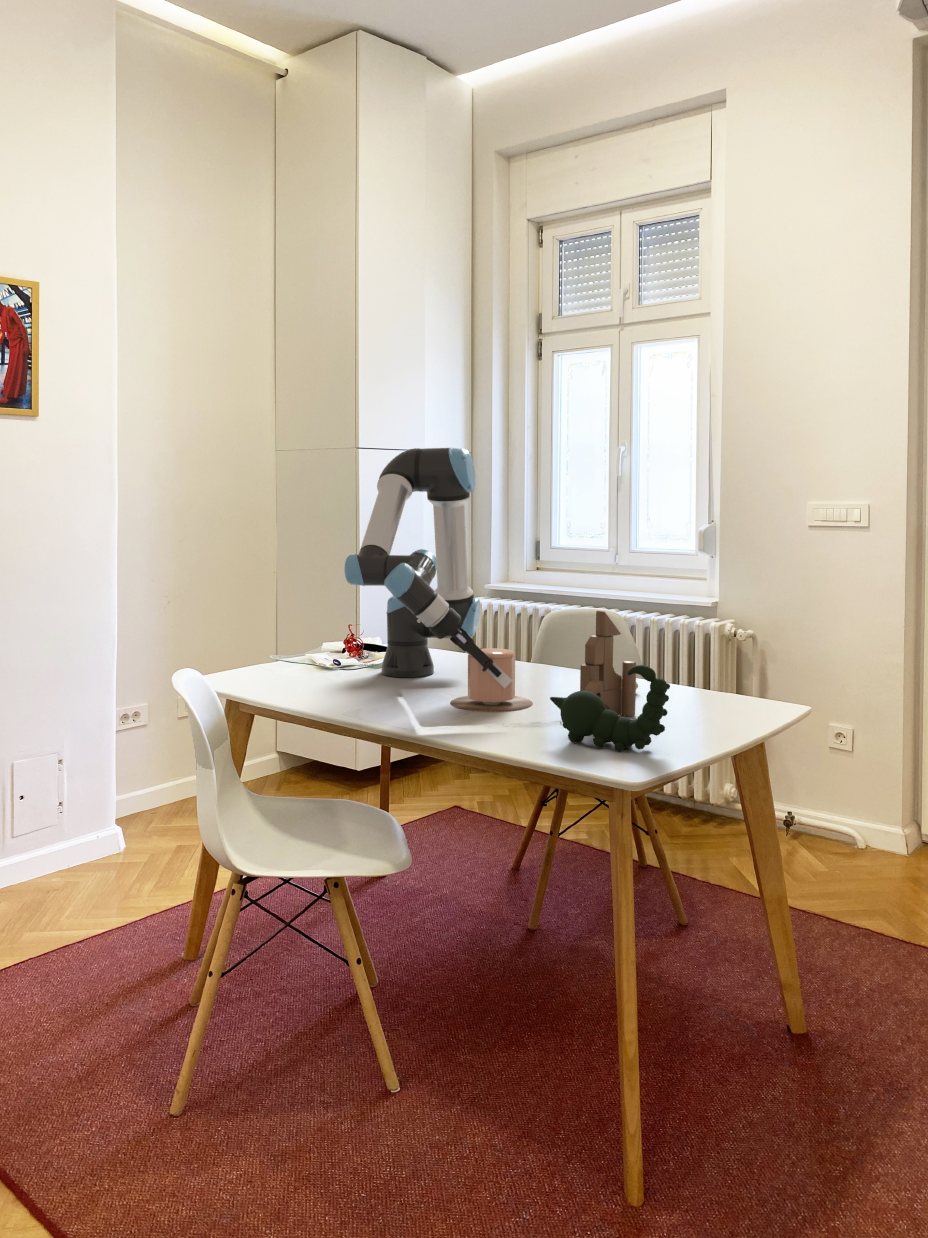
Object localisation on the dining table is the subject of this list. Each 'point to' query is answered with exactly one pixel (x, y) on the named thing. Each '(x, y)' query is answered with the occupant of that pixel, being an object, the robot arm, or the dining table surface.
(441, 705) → the dining table surface
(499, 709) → the walnut board
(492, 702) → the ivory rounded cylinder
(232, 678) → the dining table surface
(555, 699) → the toy figurine
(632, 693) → the wooden toy
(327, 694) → the dining table surface
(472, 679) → the tan domed cylinder
